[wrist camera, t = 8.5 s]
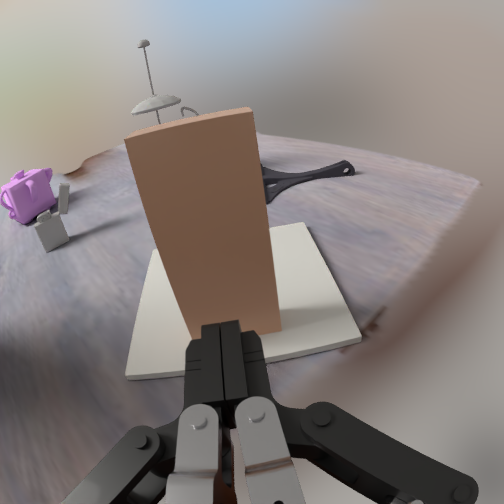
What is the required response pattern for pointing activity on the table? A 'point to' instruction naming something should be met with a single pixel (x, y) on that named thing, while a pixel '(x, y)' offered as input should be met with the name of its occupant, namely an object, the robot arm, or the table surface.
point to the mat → (274, 344)
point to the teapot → (28, 194)
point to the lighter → (54, 222)
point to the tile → (209, 217)
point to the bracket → (300, 177)
